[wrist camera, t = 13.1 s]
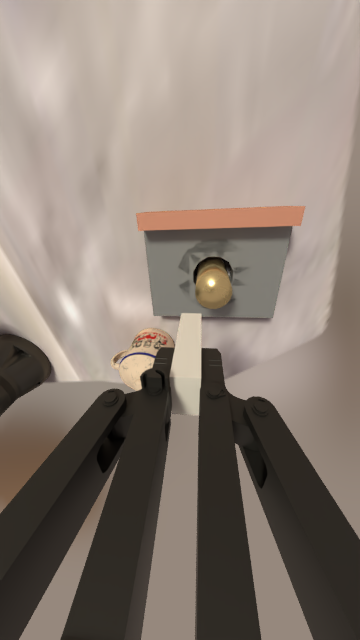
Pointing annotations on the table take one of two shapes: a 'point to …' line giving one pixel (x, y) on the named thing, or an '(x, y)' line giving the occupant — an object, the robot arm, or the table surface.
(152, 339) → the teacup with lid
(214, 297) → the brass cylinder
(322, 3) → the table surface
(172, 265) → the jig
